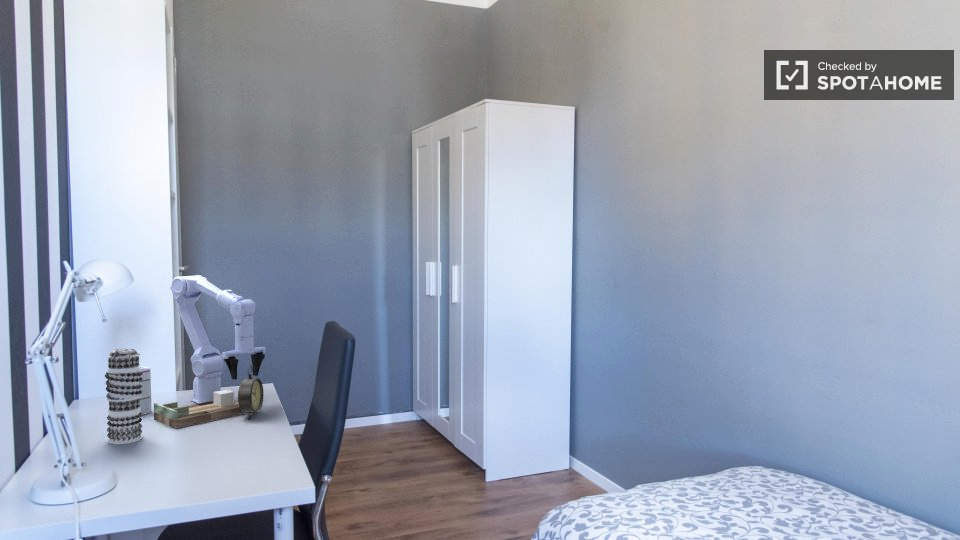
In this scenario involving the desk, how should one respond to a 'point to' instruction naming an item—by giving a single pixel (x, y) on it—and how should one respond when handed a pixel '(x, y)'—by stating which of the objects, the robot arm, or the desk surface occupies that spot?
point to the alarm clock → (250, 395)
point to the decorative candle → (124, 396)
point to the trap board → (193, 413)
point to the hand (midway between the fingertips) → (245, 377)
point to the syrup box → (145, 390)
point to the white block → (223, 398)
